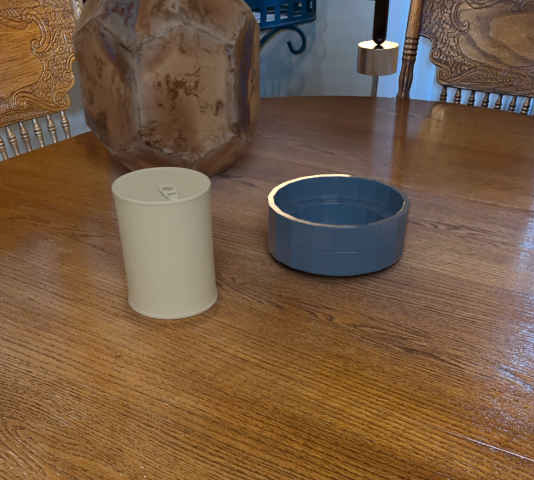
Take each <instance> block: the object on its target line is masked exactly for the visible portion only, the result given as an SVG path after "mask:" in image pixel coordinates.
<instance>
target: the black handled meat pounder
mask: <svg viewBox="0 0 534 480" xmlns="http://www.w3.org/2000/svg"><path fill="white" fill-rule="evenodd" d="M390 2H391V1H390V0H374V6H373V7H374V8H373V23H372V34H371V39H372V40H368V41H361V42H359V43H358V45H357V57H356V60H357V61H356V72H357V73H358V74H360V75H364V76H370V77H385V76H391V75H394V74H396V73H397V70H398V62H399V53H400V52H399V51H400V44H399V43H397V42H395V41H389V40H387V36H388V25H389V13H390V12H389V11H390Z"/></svg>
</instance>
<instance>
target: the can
mask: <svg viewBox="0 0 534 480" xmlns="http://www.w3.org/2000/svg"><path fill="white" fill-rule="evenodd" d="M211 187H212V182H211V179H210V177H207V176H206V175H204V174H203V173H201V172H198V171H195V170H191V169H186V168H178V167H156V168H147V169H142V170H137V171H133V172H132V171H130V172H127V173H125V174H122V175H121V176H119V177H118V178H116V179H115V180H114V182H112V184H111V192H112V196H113V200H114V208H115V212H116V219H117V225H118V231H119V238H120V244H121V245H120V246H121V251H122V258H123V263H124V264H123V265H124V271H125V278H126V279H125V280H126V286H127V303H128V305H129V307H130V308H131V309H132V310H133V311H134V312H135V313H137V314H138V315H141V316H143V317H146V318H151V319H156V320H182V319H188V318H191V317H195V316H197V315H200V314H203V313H205V312H206V311H208V310H209V309H211V308H212V307H214V305H215V304H216V302H217V300H218V298H219V291H218V288H217V281H216V269H215V268H216V267H215V254H214V253H215V252H214V237H213V236H214V235H213V219H212V218H213V217H212V195H211V193H212V191H211Z"/></svg>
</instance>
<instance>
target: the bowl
mask: <svg viewBox="0 0 534 480" xmlns="http://www.w3.org/2000/svg"><path fill="white" fill-rule="evenodd" d="M266 200H267V201H266V202H267V204H266V206H267V209H266V211H267V212H266V213H267V214H266V215H267V216H266V218H267V219H266V220H267V221H266V223H267V227H266V228H267V230H266V232H267V233H266V235H267V237H266V238H267V249H268V252H269V253H270V254H271V256H272V257H273V258H274V259H275V260H277V262H280V263H282V264H284V265H285V266H287V267H289V268H291V269H295V270H298V271H302V272H305V273H308V274H312V275H318V276H324V277H353V276H361V275H365V274H369V273H370V274H371V273H374V272H379V271H381V270H384V269H386V268H388V267H391V266H393V265H394V264H395V263H396V262H397V261H399V260H400V259H401V258H402V257H403V254H404V251H405V249H406V248H405V246H406V240H407V232H408V225H409V217H410V210H411V200H410V198H409V196H408V194H407V192H405V191H404V190H403V189H401V188H399V187H398V186H397V185H395V184H391V183H390V182H386V181H384V180H380V179H377V178H371V177H367V176H362V175H354V174H344V173H343V174H342V173H341V174H340V173H337V174H336V173H334V174H333V173H331V174H330V173H329V174H316V175H309V176H308V175H307V176H301V177H297V178H295V179H294V178H293V179H291V180H287V181H285V182H284V181H283V182H282V183H281V184H279V185H277V186H275V187H274V188H272V190H271V191H270V192H269V193H268V195H267V197H266Z"/></svg>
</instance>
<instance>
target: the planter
mask: <svg viewBox="0 0 534 480" xmlns="http://www.w3.org/2000/svg"><path fill="white" fill-rule="evenodd" d="M260 28H261V27H260V24H259V22H258V20H257V18H256V16H255V14H254V12H253V11H252V8H251V7H250V6H249V4H247V2H246V1H245V0H85V2H84V3H83V6H82V8H81V12H80V14H79V17H78V19H77V23H76V24H75V27H74V30H73V33H72V35H71V41H72V48H73V52H74V53H73V54H74V60H75V65H76V72H77V78H78V84H79V89H80V96H81V102H82V109H83V114H84V115H83V116H84V120H85V125H86V127H88V129H89V130H90V131H91V132H92V134H93V135H94V136H95V137H96V138H97V139H98V141H99V142H100V143H101V144H102V145H103V147H104V148H105V149H106V150H107V151H108V152H109V154H110V155H111V156H112V157H113V159H115V160H117V161H118V162H119V163H120V164H122V165H123V166H125V167H126V168H127V169H129V170H130V172H133V171H137V170H142V169H147V168H156V167H178V168H186V169H191V170H195V171H198V172H201V173H203V174H204V175H206V176H207V177H208V178H210V177H213V176H216V175H220V174H222V173H224V172H225V171H226V170H227V169H228V168H229V167H230V166H232V164H234V162H236V161H237V160H238V159H239V158H240V157H241V156H242V155H243V154H244V153H245V152H246V151H247V150H248V149H249V148H250V147H252V145H253V143H254V139H255V135H256V130H257V126H258V122H259V117H260V113H261V38H260V37H261V33H260V32H261V31H260V30H261V29H260Z"/></svg>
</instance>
